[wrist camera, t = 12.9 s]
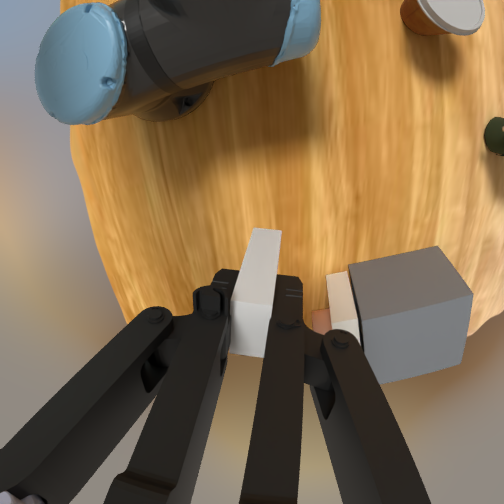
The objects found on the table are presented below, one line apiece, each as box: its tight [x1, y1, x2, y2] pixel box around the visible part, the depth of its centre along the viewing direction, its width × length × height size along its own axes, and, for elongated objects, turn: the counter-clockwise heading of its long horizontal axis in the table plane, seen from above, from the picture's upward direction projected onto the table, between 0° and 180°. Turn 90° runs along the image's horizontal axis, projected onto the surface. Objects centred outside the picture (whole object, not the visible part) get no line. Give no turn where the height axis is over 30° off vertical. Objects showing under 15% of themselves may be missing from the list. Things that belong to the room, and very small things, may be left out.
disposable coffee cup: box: [400, 0, 485, 36], centre depth 25 cm, size 10×10×12 cm
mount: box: [349, 246, 473, 384], centre depth 44 cm, size 16×14×14 cm
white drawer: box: [312, 271, 363, 344], centre depth 46 cm, size 21×13×12 cm, turn 107°
